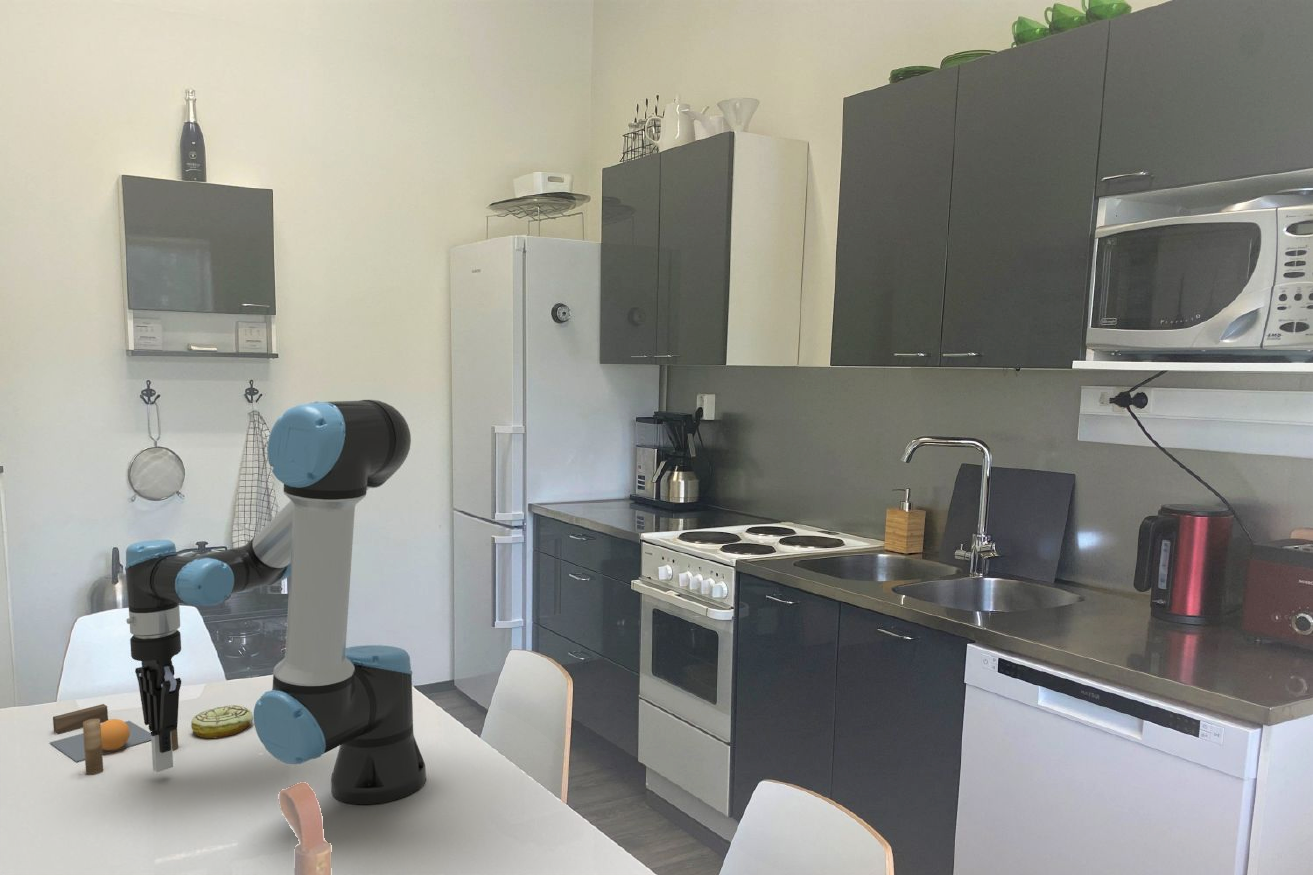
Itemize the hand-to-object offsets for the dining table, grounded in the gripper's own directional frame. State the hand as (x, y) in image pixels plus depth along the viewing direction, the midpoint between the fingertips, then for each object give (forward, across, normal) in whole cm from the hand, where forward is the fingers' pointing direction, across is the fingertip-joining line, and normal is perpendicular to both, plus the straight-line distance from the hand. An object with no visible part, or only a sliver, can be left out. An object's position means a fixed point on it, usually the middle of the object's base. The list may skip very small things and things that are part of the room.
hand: (163, 768), depth 162 cm
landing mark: (+2, -27, 0) cm, 27 cm away
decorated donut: (+2, -15, +17) cm, 23 cm away
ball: (-1, -21, 0) cm, 21 cm away
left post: (+2, -13, -6) cm, 15 cm away
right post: (+2, -13, +6) cm, 15 cm away
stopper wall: (+2, -39, 0) cm, 39 cm away
